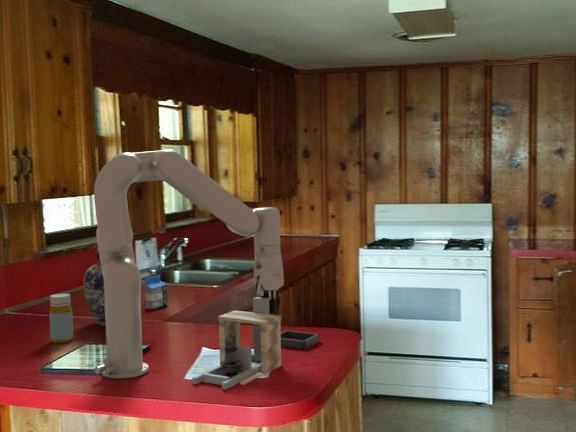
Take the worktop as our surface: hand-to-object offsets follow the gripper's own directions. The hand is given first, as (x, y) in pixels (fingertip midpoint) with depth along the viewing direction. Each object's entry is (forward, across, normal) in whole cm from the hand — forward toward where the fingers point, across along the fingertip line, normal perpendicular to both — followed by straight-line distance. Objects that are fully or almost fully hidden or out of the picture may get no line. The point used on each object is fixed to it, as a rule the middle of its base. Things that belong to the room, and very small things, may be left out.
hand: (268, 312), depth 199 cm
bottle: (+13, -14, +70) cm, 73 cm away
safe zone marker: (+13, -20, 0) cm, 24 cm away
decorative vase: (+13, +12, +73) cm, 75 cm away
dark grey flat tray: (+13, +16, 0) cm, 20 cm away
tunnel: (+13, -10, 0) cm, 17 cm away
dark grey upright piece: (+13, -20, 0) cm, 24 cm away
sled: (+13, -16, 0) cm, 21 cm away
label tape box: (+13, +40, +76) cm, 87 cm away
